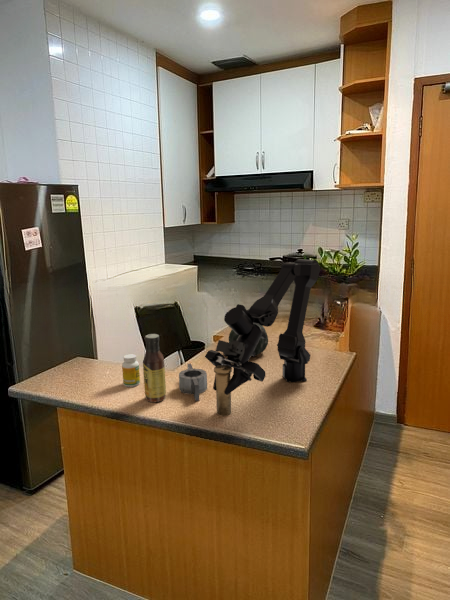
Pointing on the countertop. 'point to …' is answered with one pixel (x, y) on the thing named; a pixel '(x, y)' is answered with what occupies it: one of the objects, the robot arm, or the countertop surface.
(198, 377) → the grey ring with arms
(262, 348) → the squash
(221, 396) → the pin
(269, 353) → the countertop surface
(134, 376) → the supplement bottle
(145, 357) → the sauce bottle
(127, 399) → the countertop surface
